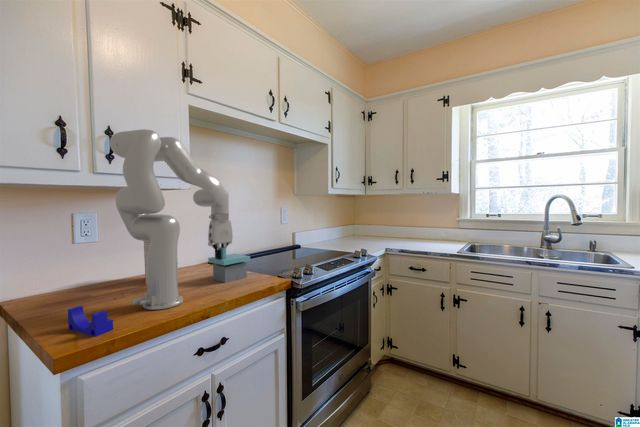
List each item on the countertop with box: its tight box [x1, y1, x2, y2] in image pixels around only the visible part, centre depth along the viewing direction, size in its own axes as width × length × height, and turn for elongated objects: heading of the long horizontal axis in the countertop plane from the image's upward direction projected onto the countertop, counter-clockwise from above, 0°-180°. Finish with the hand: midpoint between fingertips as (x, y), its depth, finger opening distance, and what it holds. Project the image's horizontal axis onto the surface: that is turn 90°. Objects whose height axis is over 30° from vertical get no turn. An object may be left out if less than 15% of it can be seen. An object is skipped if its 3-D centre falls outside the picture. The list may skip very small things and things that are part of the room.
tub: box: [212, 261, 248, 284], centre depth 137 cm, size 12×9×7 cm
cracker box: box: [143, 241, 151, 286], centre depth 132 cm, size 14×6×21 cm, turn 25°
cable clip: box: [67, 305, 114, 337], centre depth 82 cm, size 12×4×6 cm, turn 69°
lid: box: [208, 246, 251, 265], centre depth 136 cm, size 15×12×7 cm
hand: (220, 257), depth 132 cm, fingers closed on lid, 1 cm apart
